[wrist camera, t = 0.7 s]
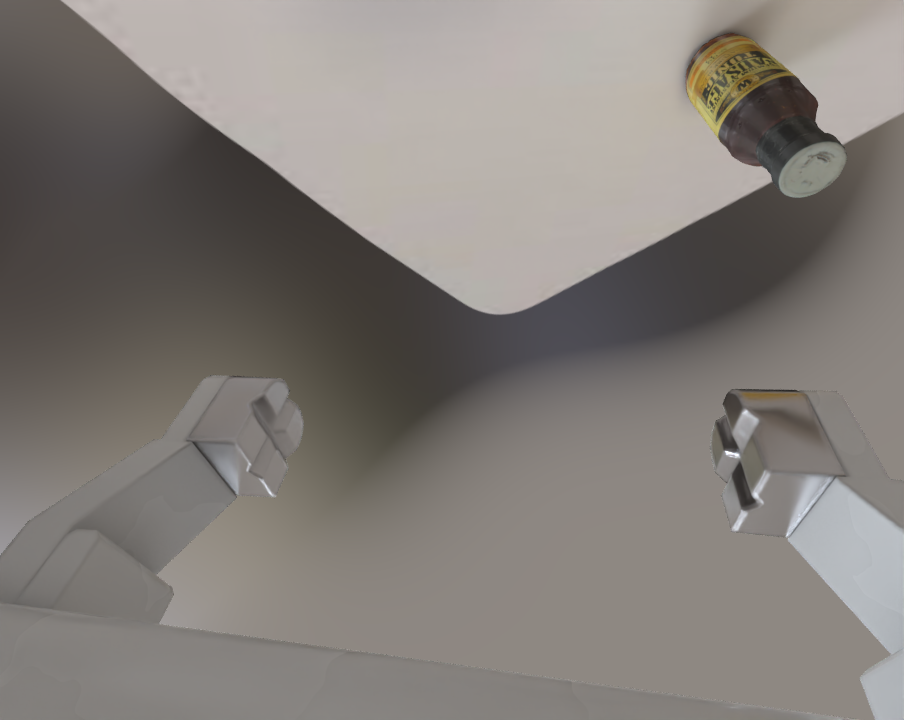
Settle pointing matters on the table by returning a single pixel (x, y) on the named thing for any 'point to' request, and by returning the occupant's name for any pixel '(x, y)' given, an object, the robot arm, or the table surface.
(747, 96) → the sauce bottle
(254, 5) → the table surface
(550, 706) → the robot arm
